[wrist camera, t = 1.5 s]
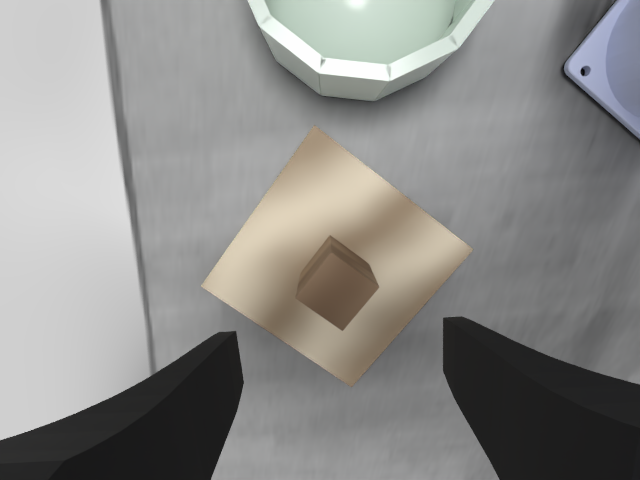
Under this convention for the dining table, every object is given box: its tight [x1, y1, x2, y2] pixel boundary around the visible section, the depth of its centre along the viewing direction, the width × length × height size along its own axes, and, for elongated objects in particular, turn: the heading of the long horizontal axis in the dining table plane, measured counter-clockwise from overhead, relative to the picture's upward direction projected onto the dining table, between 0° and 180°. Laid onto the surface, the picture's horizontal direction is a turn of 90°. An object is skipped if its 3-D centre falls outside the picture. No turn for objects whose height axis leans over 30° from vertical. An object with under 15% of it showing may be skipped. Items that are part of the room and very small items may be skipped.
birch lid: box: [201, 125, 473, 387], centre depth 19 cm, size 12×12×5 cm
